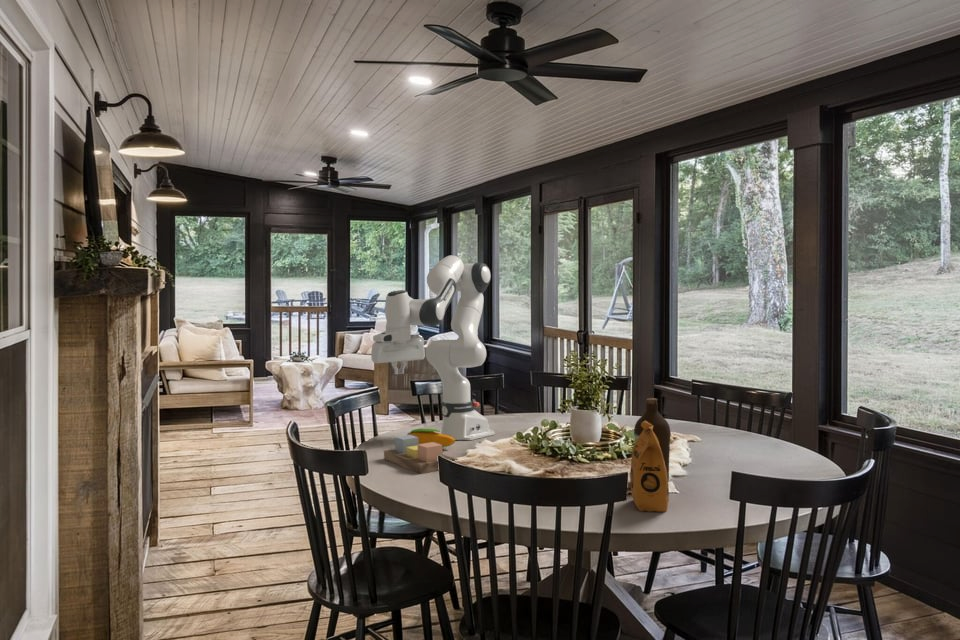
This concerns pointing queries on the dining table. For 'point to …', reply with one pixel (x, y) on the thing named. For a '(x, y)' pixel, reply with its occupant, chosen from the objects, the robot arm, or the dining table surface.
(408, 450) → the pad mustard
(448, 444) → the corn
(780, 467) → the dining table surface
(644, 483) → the coffee package
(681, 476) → the dining table surface
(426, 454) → the pad terracotta
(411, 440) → the pad slate
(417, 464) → the button board
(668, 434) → the olive oil
